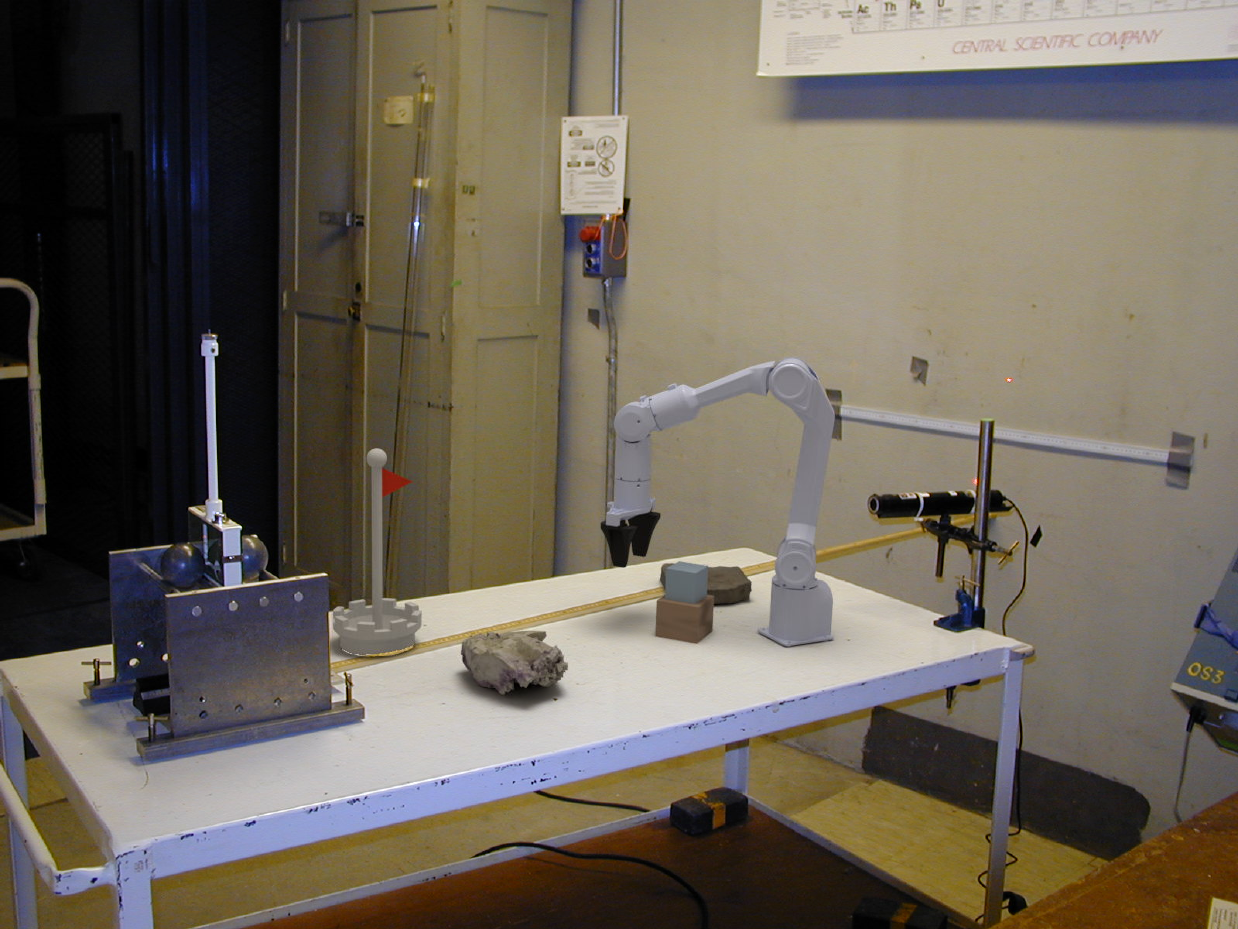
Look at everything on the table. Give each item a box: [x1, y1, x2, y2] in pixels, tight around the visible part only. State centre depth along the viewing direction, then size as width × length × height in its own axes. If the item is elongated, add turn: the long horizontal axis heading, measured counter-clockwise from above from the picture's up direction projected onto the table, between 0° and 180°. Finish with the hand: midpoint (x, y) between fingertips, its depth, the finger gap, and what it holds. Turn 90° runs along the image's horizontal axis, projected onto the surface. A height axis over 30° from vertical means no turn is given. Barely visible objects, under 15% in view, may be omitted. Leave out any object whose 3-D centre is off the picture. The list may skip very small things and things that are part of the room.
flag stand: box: [332, 447, 423, 655], centre depth 177 cm, size 13×13×30 cm
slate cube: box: [664, 561, 709, 604], centre depth 188 cm, size 5×5×5 cm
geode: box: [460, 630, 569, 695], centre depth 165 cm, size 17×9×15 cm
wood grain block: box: [654, 594, 715, 645], centre depth 189 cm, size 7×7×6 cm
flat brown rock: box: [659, 562, 753, 605], centre depth 211 cm, size 17×15×4 cm
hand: (629, 561), depth 192 cm, fingers open, 7 cm apart
